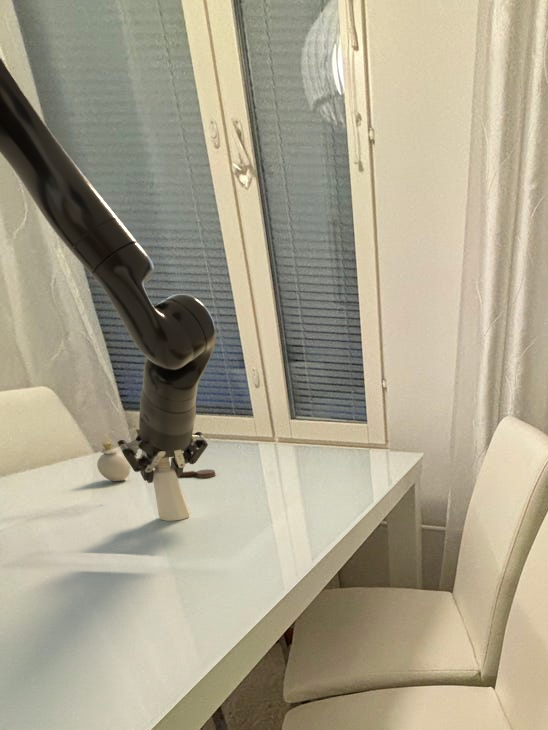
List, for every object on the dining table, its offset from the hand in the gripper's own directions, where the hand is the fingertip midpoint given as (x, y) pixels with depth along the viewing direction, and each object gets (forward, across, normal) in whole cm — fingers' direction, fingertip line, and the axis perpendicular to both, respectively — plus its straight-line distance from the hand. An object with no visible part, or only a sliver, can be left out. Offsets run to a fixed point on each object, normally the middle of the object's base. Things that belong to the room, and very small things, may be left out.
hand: (161, 476), depth 100 cm
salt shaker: (+4, 0, +6) cm, 7 cm away
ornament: (+28, 0, -18) cm, 33 cm away
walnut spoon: (+24, -12, -14) cm, 30 cm away
